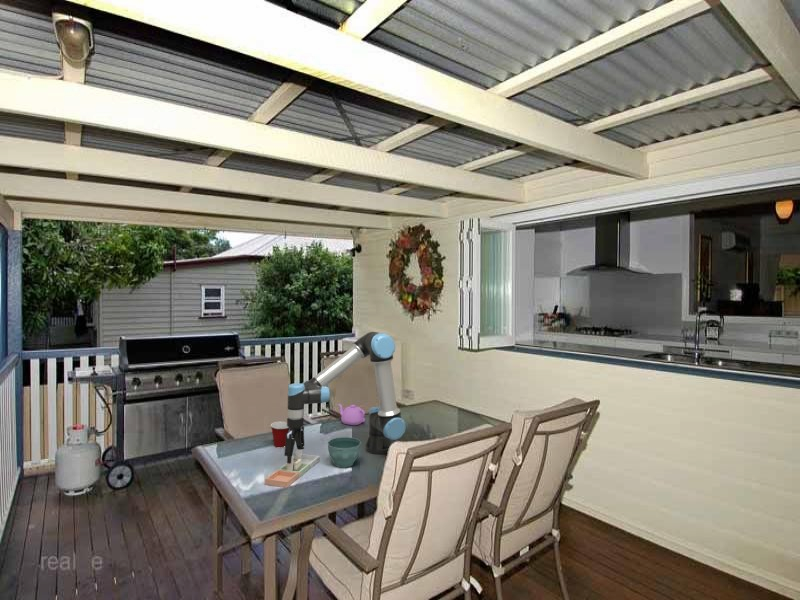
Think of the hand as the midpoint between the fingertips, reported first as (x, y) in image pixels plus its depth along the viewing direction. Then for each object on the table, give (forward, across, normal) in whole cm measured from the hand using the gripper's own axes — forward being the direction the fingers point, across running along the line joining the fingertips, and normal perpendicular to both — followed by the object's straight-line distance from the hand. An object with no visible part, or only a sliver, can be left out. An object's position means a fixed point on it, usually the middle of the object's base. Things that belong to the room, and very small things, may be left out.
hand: (294, 466), depth 211 cm
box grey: (+3, -11, 0) cm, 11 cm away
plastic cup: (+3, -30, -24) cm, 38 cm away
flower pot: (+3, -16, +18) cm, 25 cm away
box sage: (+3, 0, 0) cm, 3 cm away
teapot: (+3, -84, -4) cm, 84 cm away
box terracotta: (+3, +11, 0) cm, 11 cm away
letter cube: (+2, 0, 0) cm, 2 cm away
